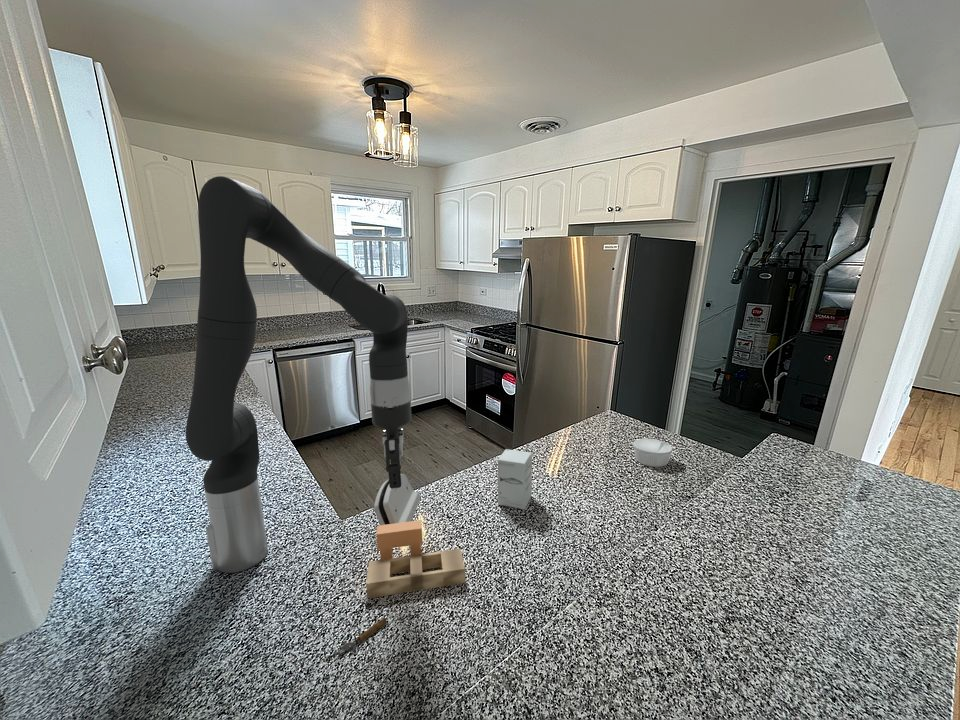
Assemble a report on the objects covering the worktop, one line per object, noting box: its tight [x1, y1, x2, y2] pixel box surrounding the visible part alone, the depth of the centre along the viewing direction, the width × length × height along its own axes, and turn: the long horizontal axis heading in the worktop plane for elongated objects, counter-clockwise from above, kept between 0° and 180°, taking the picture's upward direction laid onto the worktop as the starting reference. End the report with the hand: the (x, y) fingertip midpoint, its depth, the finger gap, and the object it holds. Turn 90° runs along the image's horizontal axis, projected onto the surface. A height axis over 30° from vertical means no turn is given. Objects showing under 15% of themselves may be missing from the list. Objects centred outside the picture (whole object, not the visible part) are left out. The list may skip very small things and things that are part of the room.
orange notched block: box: [376, 519, 424, 560], centre depth 81 cm, size 9×3×7 cm, turn 101°
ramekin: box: [632, 438, 673, 468], centre depth 123 cm, size 11×11×5 cm
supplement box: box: [497, 448, 533, 510], centre depth 101 cm, size 7×7×13 cm
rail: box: [365, 548, 466, 599], centre depth 75 cm, size 18×6×3 cm, turn 101°
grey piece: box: [373, 473, 421, 525], centre depth 97 cm, size 17×5×10 cm, turn 176°
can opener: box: [333, 617, 388, 657], centre depth 63 cm, size 9×2×1 cm, turn 131°
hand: (396, 476), depth 79 cm, fingers open, 8 cm apart
